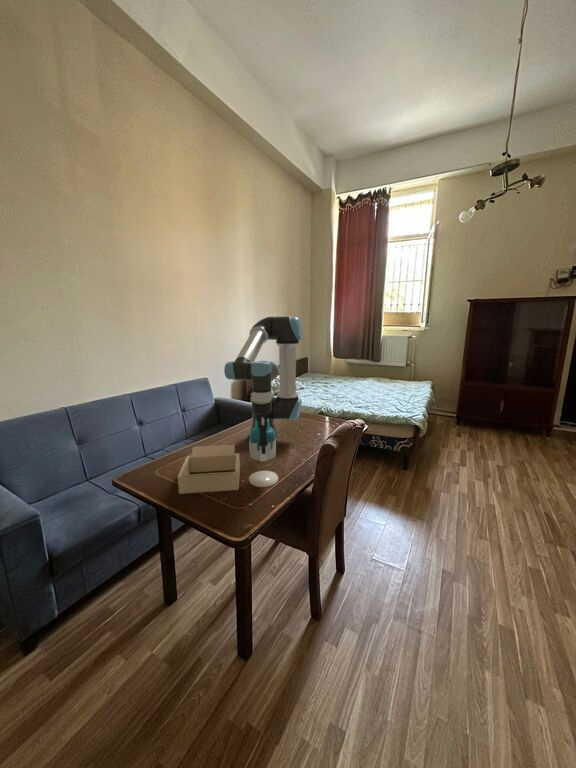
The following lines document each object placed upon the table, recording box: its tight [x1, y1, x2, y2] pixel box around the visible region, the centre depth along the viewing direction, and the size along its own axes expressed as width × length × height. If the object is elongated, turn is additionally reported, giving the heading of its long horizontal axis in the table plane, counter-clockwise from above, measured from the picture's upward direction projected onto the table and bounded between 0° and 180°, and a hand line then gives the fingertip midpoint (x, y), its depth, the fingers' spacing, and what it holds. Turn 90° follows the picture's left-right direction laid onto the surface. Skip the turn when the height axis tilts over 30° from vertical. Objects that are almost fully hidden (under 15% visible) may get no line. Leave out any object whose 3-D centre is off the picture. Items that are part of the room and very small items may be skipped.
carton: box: [177, 444, 241, 495], centre depth 126 cm, size 25×22×10 cm
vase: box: [248, 419, 277, 468], centre depth 124 cm, size 11×11×19 cm
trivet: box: [248, 470, 279, 488], centre depth 128 cm, size 12×12×1 cm
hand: (262, 454), depth 125 cm, fingers closed on vase, 10 cm apart
